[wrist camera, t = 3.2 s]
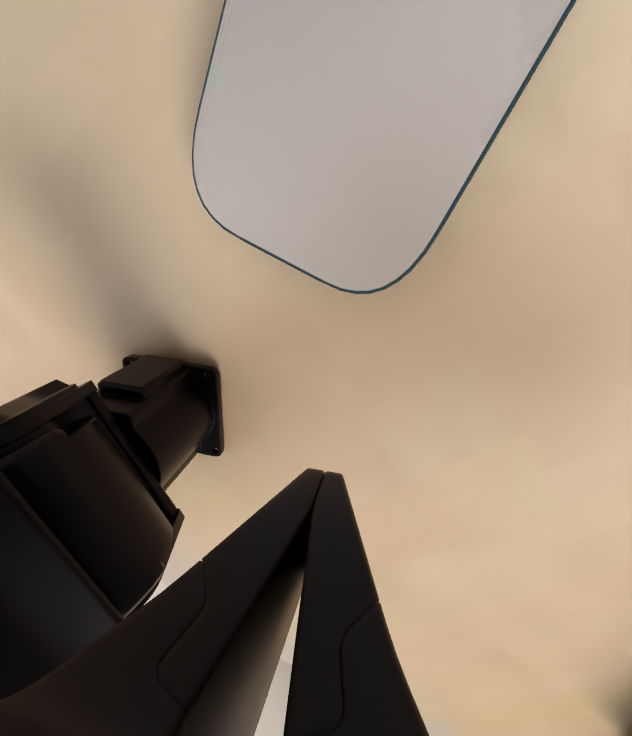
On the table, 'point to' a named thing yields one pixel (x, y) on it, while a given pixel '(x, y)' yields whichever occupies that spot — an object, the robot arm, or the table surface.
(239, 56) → the external hard drive
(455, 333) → the table surface
